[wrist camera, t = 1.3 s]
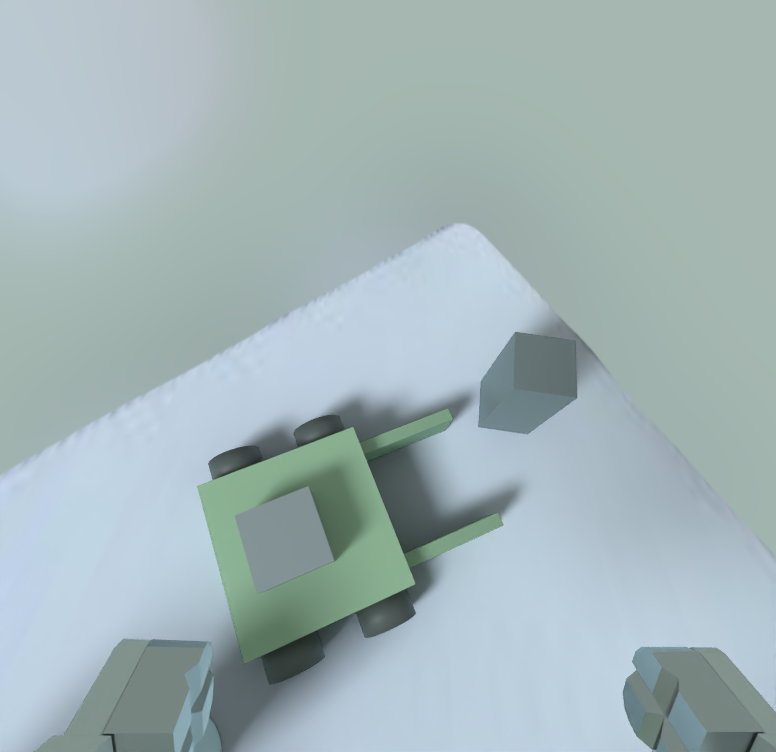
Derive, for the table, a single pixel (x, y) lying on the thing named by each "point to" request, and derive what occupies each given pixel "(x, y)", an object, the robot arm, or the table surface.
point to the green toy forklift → (314, 540)
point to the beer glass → (209, 739)
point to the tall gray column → (528, 383)
